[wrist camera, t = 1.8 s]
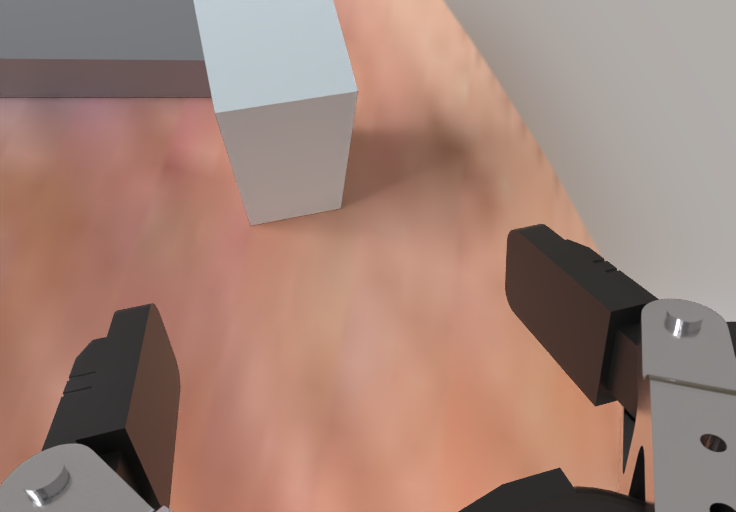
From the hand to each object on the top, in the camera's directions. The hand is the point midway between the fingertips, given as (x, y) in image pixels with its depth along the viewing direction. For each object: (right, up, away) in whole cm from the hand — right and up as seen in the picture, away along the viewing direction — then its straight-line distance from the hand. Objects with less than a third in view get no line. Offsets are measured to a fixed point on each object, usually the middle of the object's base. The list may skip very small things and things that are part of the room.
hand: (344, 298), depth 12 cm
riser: (-13, +14, +16) cm, 25 cm away
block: (-4, +5, +15) cm, 16 cm away
